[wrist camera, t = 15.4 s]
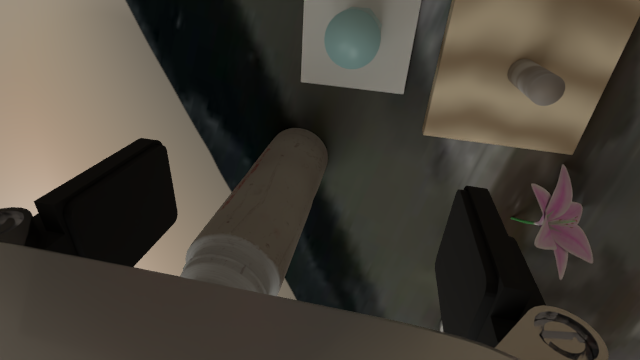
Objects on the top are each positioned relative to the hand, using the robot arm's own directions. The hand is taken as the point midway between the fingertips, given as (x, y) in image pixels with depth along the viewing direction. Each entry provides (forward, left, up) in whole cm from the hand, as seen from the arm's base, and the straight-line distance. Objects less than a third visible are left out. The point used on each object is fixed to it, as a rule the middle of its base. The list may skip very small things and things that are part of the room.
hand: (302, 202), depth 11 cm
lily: (-16, -24, -32) cm, 43 cm away
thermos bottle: (-15, +7, -32) cm, 36 cm away
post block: (-1, -16, -32) cm, 35 cm away
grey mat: (+1, +1, -32) cm, 32 cm away
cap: (+1, +1, -31) cm, 31 cm away
